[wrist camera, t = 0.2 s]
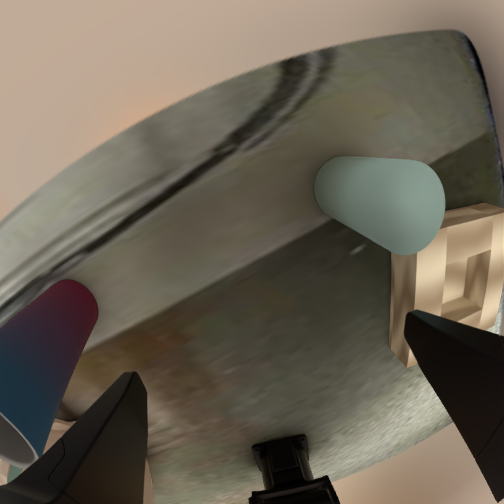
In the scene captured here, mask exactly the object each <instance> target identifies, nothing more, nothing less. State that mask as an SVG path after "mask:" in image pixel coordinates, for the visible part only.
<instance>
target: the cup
mask: <svg viewBox="0 0 504 504" xmlns="http://www.w3.org/2000/svg"><path fill="white" fill-rule="evenodd" d="M97 318H98V307H97V303H96V301H95V299H94V297H93V295H92V294H91V292H90V291H89V290H88V289H87V288H86V287H85V286H83V285H82V284H80V283H78V282H76V281H73V280H61V281H59V282H57V283H56V284H54V285H53V286H52V287H50V288H49V289H48V290H47V291H45V292H44V293H43V294H41V295H40V296H39V297H38V298H36V299H35V300H34V301H32V302H31V303H30V304H29V305H27V306H26V307H25V308H24V309H23V310H21V311H20V312H19V313H18V314H16V315H15V316H14V317H13V318H12V319H10V320H9V321H8V322H7V323H6V324H4V325H3V326H2V327H1V328H0V459H1V460H3V461H5V462H7V463H9V464H11V465H13V466H16V467H18V468H22V469H27V468H28V467H29V466H30V465H31V464H33V463H34V462H35V461H36V460H37V459H38V458H40V457H41V456H42V455H43V452H44V449H45V446H46V443H47V440H48V437H49V434H50V431H51V428H52V425H53V422H54V420H55V417H56V414H57V411H58V409H59V406H60V403H61V401H62V398H63V396H64V393H65V391H66V388H67V386H68V383H69V381H70V379H71V376H72V374H73V371H74V369H75V367H76V364H77V362H78V360H79V358H80V355H81V353H82V351H83V349H84V347H85V344H86V342H87V340H88V338H89V336H90V334H91V332H92V330H93V327H94V325H95V323H96V321H97Z"/></svg>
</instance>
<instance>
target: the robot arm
mask: <svg viewBox="0 0 504 504" xmlns="http://www.w3.org/2000/svg"><path fill="white" fill-rule="evenodd" d="M404 337H405V340H406V342H407V343H408V345H409V347H410V349H411V351H412V353H413V355H414V357H415V359H416V361H417V363H418V365H419V367H420V369H421V370H422V372H423V374H424V375H425V377H426V378H427V380H428V382H429V383H430V385H431V386H432V388H433V389H434V391H435V392H436V394H437V396H438V397H439V399H440V400H441V402H442V404H443V405H444V407H445V409H446V410H447V412H448V413H449V415H450V417H451V418H452V420H453V422H454V423H455V425H456V427H457V428H458V430H459V432H460V434H461V435H462V437H463V439H464V441H465V442H466V444H467V446H468V448H469V450H470V451H471V453H472V455H473V457H474V458H475V461H476V463H477V464H478V466H479V468H480V470H481V472H482V474H483V476H484V478H485V480H486V481H487V484H488V485H489V487H490V489H491V491H492V494H493V495H494V498H495V500H496V501H497V503H498V502H499V501H501V500H502V499H503V498H504V336H501V335H500V336H499V335H498V334H495V333H492V332H488V331H485V330H482V329H479V328H476V327H472V326H469V325H466V324H463V323H460V322H456V321H453V320H450V319H447V318H444V317H440V316H437V315H434V314H431V313H428V312H425V311H421V310H418V309H416V310H413V311H410V312H408V313H407V314H406V317H405V325H404ZM147 438H148V418H147V391H146V388H145V386H144V384H143V382H142V380H141V379H140V377H139V375H138V373H137V372H135V371H131V372H124V373H123V374H122V375H121V376H120V377H119V378H118V379H117V380H116V381H115V382H114V383H113V384H112V385H111V386H110V387H109V388H108V389H107V390H106V391H105V392H104V393H103V394H102V395H101V396H100V397H99V398H98V399H97V401H96V402H95V403H94V404H93V405H92V406H91V407H90V408H89V409H88V410H87V411H86V412H85V413H84V414H83V415H82V416H81V417H80V418H79V419H78V420H77V421H76V422H75V423H74V424H73V425H72V426H71V427H70V428H69V429H68V430H67V431H66V432H65V433H64V434H63V435H62V437H60V438H59V439H58V440H57V441H56V442H55V443H54V444H53V445H52V446H51V447H50V448H49V449H48V450H47V451H46V452H45V453H44V454H43V455H42V456H41V457H40V458H38V459H37V460H36V461H35V462H34V463H33V464H31V465H30V466H29V467H28V468H27V469H26V470H24V471H23V472H22V473H21V474H20V475H18V476H17V477H16V478H15V479H13V480H12V481H11V482H9V483H7V484H4V485H0V504H143V498H144V478H145V463H146V450H147ZM252 451H253V453H254V456H255V459H256V461H257V464H258V467H259V469H260V471H261V472H262V476H263V482H264V487H265V490H263V491H252V496H251V497H250V498H248V499H249V504H340V502H339V499H338V497H337V495H336V492H335V490H334V488H333V486H332V484H331V482H330V479H329V477H328V475H325V476H323V477H321V478H317V479H314V478H313V475H312V471H311V468H310V465H309V462H308V461H309V455H308V445H307V438H306V435H299V436H295V437H291V438H287V439H283V440H278V441H274V442H269V443H264V444H259V445H254V446H253V447H252Z"/></svg>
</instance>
